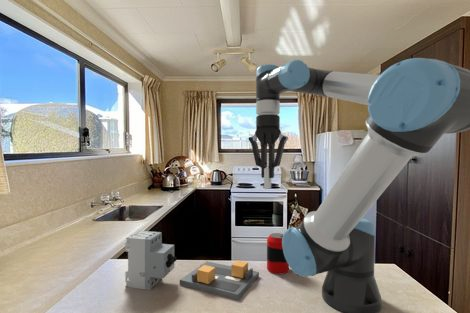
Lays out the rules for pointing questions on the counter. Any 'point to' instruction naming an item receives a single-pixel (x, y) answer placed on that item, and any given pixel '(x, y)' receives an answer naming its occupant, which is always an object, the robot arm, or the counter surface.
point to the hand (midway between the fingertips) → (267, 188)
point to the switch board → (222, 281)
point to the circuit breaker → (147, 259)
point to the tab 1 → (206, 274)
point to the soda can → (276, 254)
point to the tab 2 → (239, 269)
